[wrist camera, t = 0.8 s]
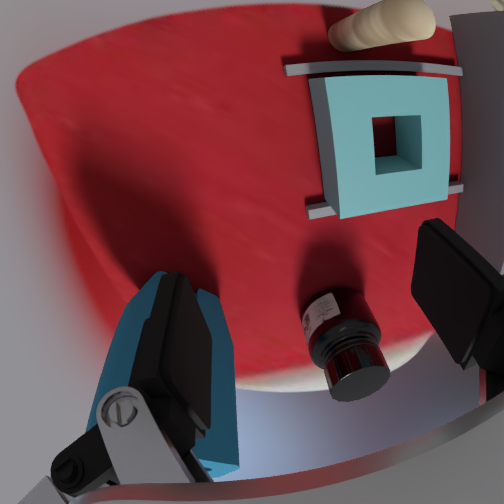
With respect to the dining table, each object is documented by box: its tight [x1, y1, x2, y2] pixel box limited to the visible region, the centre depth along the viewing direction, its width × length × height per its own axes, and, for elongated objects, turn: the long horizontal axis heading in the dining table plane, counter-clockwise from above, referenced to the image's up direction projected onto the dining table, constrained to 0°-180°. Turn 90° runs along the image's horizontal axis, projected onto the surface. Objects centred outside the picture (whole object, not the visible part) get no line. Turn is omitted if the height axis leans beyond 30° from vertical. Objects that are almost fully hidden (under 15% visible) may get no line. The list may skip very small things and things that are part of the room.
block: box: [85, 271, 239, 478], centre depth 26 cm, size 12×5×20 cm, turn 57°
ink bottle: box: [301, 287, 390, 402], centre depth 32 cm, size 10×9×12 cm
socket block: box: [308, 75, 450, 219], centre depth 24 cm, size 12×12×5 cm
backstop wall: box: [283, 11, 504, 275], centre depth 21 cm, size 22×28×10 cm
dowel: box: [328, 0, 436, 52], centre depth 16 cm, size 3×3×12 cm
